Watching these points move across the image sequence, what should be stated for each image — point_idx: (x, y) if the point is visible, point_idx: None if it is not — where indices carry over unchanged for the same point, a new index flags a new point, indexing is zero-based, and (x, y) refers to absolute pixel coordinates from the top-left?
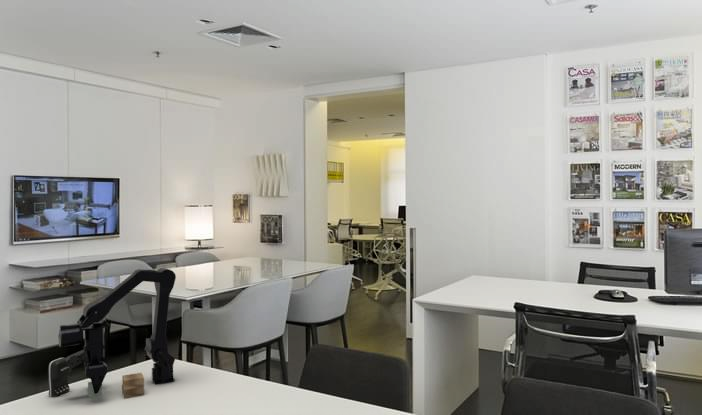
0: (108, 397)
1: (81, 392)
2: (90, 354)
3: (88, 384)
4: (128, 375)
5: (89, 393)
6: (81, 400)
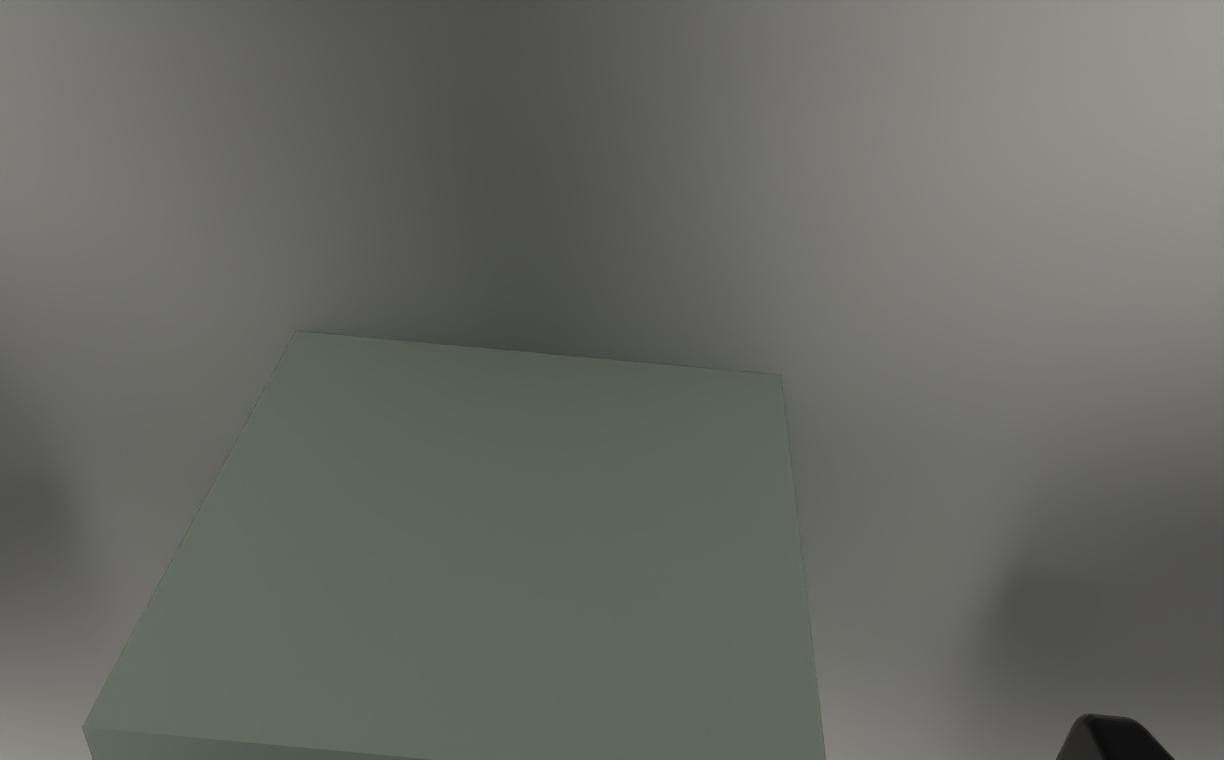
0: (66, 726)
1: (1208, 188)
2: None
3: (343, 751)
4: None
5: (248, 453)
6: (49, 52)
